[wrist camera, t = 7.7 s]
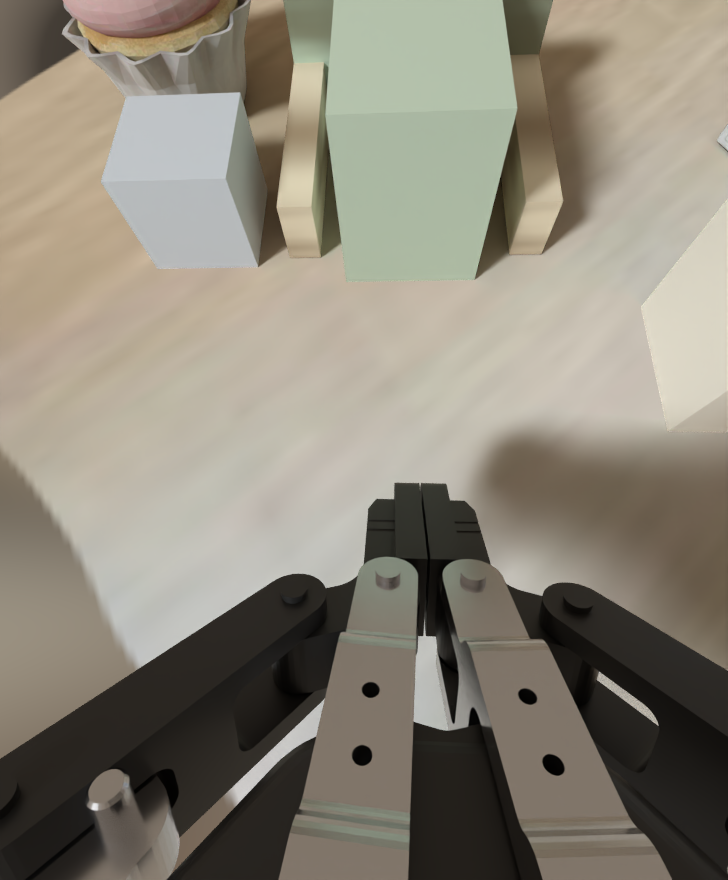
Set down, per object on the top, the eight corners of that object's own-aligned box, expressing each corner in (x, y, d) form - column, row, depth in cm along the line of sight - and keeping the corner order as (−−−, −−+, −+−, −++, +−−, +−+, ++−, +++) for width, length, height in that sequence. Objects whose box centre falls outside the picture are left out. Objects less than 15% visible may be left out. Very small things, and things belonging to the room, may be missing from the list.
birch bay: (305, 104, 27) (284, -32, 21) (519, 97, 26) (555, -45, 21) (290, 257, 23) (258, 140, 17) (541, 254, 22) (592, 131, 17)
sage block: (352, 135, 26) (338, -61, 19) (462, 131, 26) (493, -69, 18) (346, 283, 22) (325, 114, 15) (474, 281, 22) (517, 108, 15)
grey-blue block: (175, 194, 25) (126, 96, 20) (268, 191, 25) (240, 92, 20) (158, 270, 23) (100, 182, 19) (258, 268, 23) (225, 178, 18)
